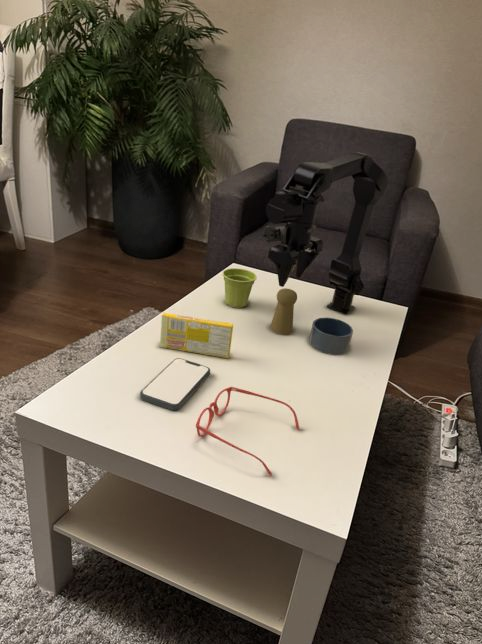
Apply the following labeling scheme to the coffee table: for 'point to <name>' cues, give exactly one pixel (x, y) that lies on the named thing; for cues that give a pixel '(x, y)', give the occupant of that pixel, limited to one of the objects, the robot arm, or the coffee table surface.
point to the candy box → (196, 335)
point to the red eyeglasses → (216, 409)
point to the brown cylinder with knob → (284, 312)
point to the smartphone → (175, 384)
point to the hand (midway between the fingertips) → (290, 281)
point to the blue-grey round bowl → (330, 335)
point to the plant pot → (238, 286)
